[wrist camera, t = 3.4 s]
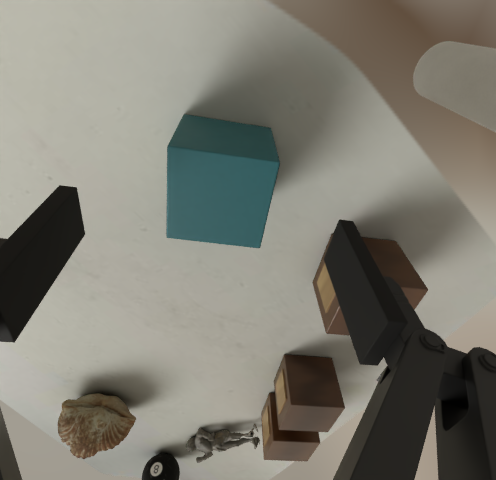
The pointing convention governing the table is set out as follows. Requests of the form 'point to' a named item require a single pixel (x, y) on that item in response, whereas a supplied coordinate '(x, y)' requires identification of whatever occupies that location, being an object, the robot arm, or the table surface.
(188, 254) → the table surface
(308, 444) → the walnut block
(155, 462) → the billiard ball
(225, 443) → the figurine
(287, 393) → the walnut block
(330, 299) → the walnut block
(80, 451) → the seashell
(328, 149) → the table surface
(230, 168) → the teal block
